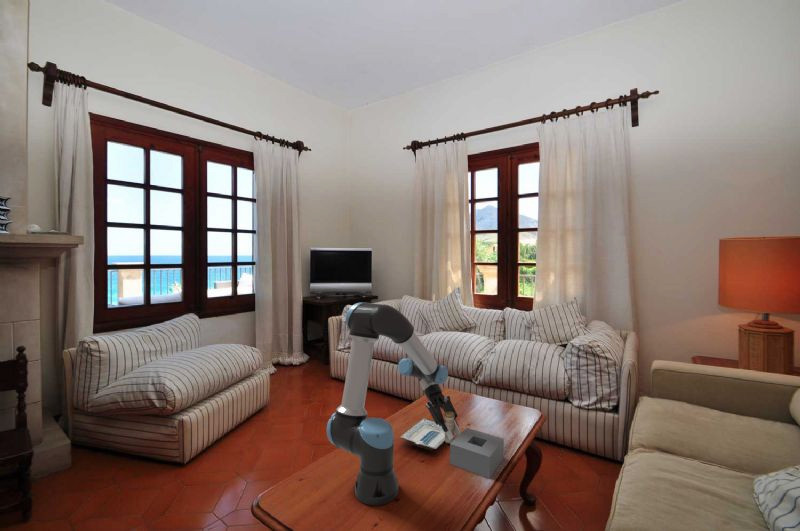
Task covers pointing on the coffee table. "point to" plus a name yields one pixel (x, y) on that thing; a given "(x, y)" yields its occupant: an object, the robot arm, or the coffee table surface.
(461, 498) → the coffee table surface
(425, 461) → the coffee table surface
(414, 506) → the coffee table surface
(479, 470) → the socket block
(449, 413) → the peg
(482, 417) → the coffee table surface
